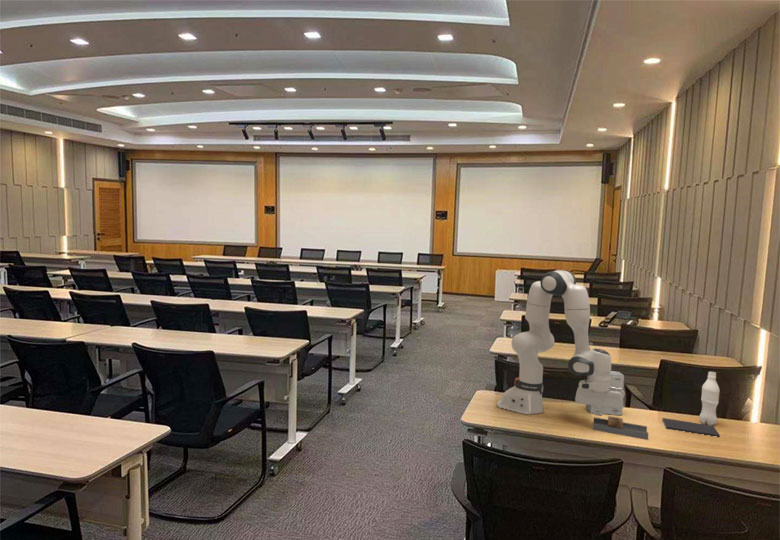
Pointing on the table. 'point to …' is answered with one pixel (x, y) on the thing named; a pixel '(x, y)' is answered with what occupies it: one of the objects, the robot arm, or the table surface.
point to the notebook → (690, 427)
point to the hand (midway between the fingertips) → (598, 415)
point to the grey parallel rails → (627, 428)
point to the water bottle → (709, 400)
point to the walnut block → (615, 422)
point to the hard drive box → (616, 381)
